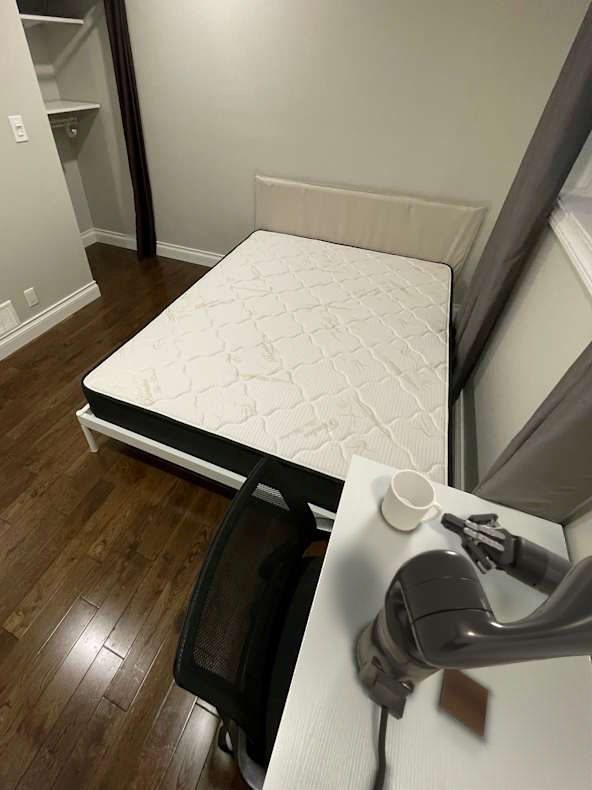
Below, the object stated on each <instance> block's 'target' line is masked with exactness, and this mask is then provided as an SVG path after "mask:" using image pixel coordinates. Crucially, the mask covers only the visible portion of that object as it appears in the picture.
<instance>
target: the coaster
mask: <svg viewBox="0 0 592 790" xmlns="http://www.w3.org/2000/svg"><path fill="white" fill-rule="evenodd" d="M444 673H445V674H444V679H443V685H442V690H441V696H440V703H439V707H440V708H441V709H442V710H444V711H445V712H446V713H448V714H449V715H451V716H452V717H453V718H455V719H456V720H458V721H459V722H460V723H461V724H463V725H464V726H466V727H467V728H468V729H470V730H471V731H473V732H474V733H476V734H477V735H478V736H480V737H484V735H485V725H486V717H487V706H488V697H489V690H488V689H487V688H486V687H484V686H483V685H481V684H480V683H478V682H477V681H476V680H474V679H473V678H471V677H469V676H468V675H466V674H465V673H463V672H462V671H460V670H452V669H445V672H444Z"/></svg>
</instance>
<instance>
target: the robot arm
mask: <svg viewBox="0 0 592 790" xmlns="http://www.w3.org/2000/svg"><path fill="white" fill-rule="evenodd" d="M498 519H499V515H498V514H497V513H495V512H492V513H491V512H490V513H481V514H480V513H479V514H470V515H469V516H468V517H467V518H466V519H463V518H460V517H459V516H456V515H455V514H453V513H450V512H445V513H442V515H441V519H440V525H442V527H443V528H444V529H446V530H448V531H450V532H452V533H454V534H455V535H457V536H458V537H459V538H460V540H461V543H460V546H461V548H462V549H463V551H464V552H465V553H466V555H467V556H468V557H469V558H470V560H471V561H472V562H473V564H474V565H475V567H476V568H477V569H478V570H479V572H480V573H481V574H483V575H486V574H488V573H489V572H490V571H492V570H494V569H495V570H496V571H502V572H505V574H506V575H508V576H509V577H511V578H512V579H515V580H517V581H519V582H521V583H522V584H524V585H526V586H528V587H530V588H531V589H533V590H536V591H537V592H539V593H541V594H543V595H545V596H546V597H547V598H546V599H545V600H544V601H543V602H542V603H541V604H540V605H539V606H538V607H536V609H534V610H533V611H532V612H531V613H529V614H528V615H527V616H525V617H523V618H521V619H517V620H515V621H510V622H500V621H498V619H497V617H496V616H495V612H494V610H493V608H492V606H491V604H490V601H489V599H488V597H487V595H486V591H485V589H484V587H483V585H482V583H481V581H480V578H479V576H478V573H477V572H476V569H475V567H474V565H473V564H472V562H471V561H470V560H469V559H468V558H467V557H466V556H464V555H463V554H461V553H459V552H457V551H454V550H451V549H444V548H438V549H436V548H435V549H428V550H424V551H422V552H419V553H417V554H415V555H413V556H410V558H408V559H406V561H404V562H403V563H402V564H401V565H400V566H399V568H397V570H396V571H395V574H394V575H393V577H392V579H391V581H390V582H389V585H388V587H387V589H386V591H385V593H384V596H383V597H384V598H383V606H382V607H381V608H380V610H379V611H378V612H377V614H375V617H374V618H373V619H372V621H371V622H370V623H369V625H368V626H367V627H366V629H365V630H363V632H362V633H361V635H360V636H359V639H358V642H357V646H356V658H357V663H358V667H359V672H358V678H359V679H360V680H362V682H364V683H365V684H367V685H368V686H370V687H371V689H370V692H369V696H368V698H369V699H370V700H371V701H372V702H373V703H374V704H376V705H377V706H379V707H380V708H381V709H380V718H379V727H378V739H377V754H378V756H377V757H378V766H377V773H376V777H375V782H374V787H373V790H383V787H384V782H385V777H386V771H387V769H386V768H387V760H386V758H387V757H386V740H387V738H386V737H387V729H388V718H389V715H391V717H393V718H395V719H396V720H397V721H399V720H401V719H402V718H403V715H404V712H405V707H406V703H407V698H408V697H409V696H411V695H412V694H414V692H415V691H414V690H415V688H416V686H418V685H419V684H421V683H422V682H424V681H425V680H427V679H428V678H430V677H431V676H433V675H434V674H436V673H438V672H440V671H441V670H446V669H452V670H459V671H460V670H472V669H482V668H490V667H498V666H506V665H513V664H520V663H521V664H522V663H527V662H536V661H542V660H552V659H558V658H559V659H560V658H569V657H585V656H586V657H587V656H592V555H588V556H586V557H584V558H582V559H580V561H578V562H576V563H575V564H574V563H573V562H571V561H569V560H568V559H566V558H564V557H563V556H561V555H559V554H557V553H555V552H553V551H551V550H549V549H547V548H545V547H543V546H541V545H540V544H537V543H535V542H533V541H531V540H529V539H527V538H525V537H523V536H521V535H515V534H513V533H511V532H510V531H509V530H507V528H505V527H502V526H501V524H500V523H499V521H498Z"/></svg>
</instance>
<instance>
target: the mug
mask: <svg viewBox="0 0 592 790" xmlns="http://www.w3.org/2000/svg"><path fill="white" fill-rule="evenodd" d="M384 495H385V496H384V498H383V501H382V503H381V508H380V509H381V513H382V516H383V518H384V520H385V521H386V522H387V524H389V525H390V526H391V527H392V528H394V529H396V530H399V531H403V532H404V531H405V532H409V531H413V530H414V529H416V528H417V526H418V525H419V523H423V524H426V523H430V522H434V521H435V520H437V519H439V518H440V517H441V516H442V515H443V508H442V506H441V504H440V503H438V502H437V501H436V500H437V491H436V489H435V486H434V484H433V483H432V481H431V480H430V479H429V478H427V476H425V475H424V474H422V473H421V472H418V471H417V470H413V469H406V468H404V469H400V470H398V471H396V472H395V473H394V474H393V475H392V477H391V479H390V482H389V484H388V487H387V489H386V492H385V494H384ZM432 507H433V508H435V510H436V513H434V514H432V515H430V516H428V517H425V516H426V515H427V513H428V512H429V511H430V510H431V508H432Z"/></svg>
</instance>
